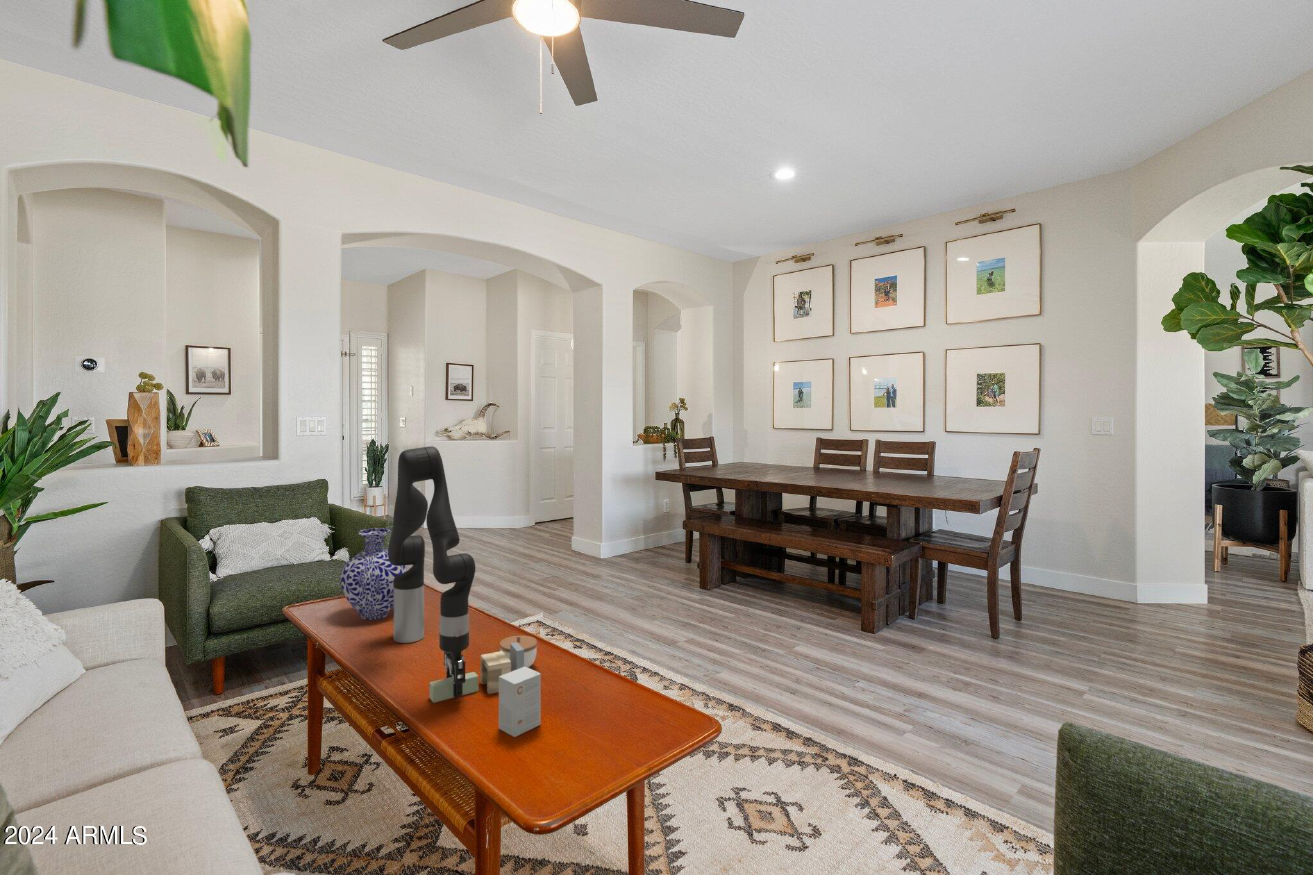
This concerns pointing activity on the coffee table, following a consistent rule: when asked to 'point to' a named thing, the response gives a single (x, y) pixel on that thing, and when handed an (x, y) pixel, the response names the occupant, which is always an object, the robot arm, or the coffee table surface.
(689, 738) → the coffee table surface
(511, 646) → the wall
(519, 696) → the small box
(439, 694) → the pale green rectangular bar
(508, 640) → the lidded jar
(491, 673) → the block
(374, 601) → the vase
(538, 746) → the coffee table surface
